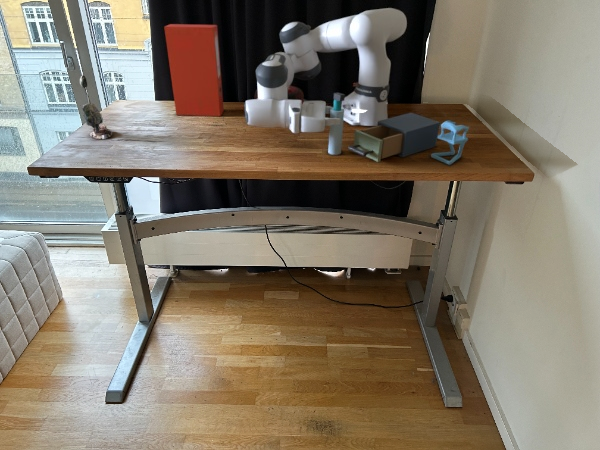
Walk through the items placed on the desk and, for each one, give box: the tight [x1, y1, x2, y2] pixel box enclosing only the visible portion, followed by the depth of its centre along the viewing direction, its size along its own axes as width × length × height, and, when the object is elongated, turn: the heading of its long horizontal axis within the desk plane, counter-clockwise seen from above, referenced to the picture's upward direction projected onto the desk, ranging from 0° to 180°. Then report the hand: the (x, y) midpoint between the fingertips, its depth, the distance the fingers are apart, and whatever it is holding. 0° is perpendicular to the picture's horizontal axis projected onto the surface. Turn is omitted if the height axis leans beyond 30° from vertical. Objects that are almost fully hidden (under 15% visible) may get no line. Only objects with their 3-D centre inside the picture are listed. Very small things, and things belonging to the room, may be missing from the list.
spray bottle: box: [327, 92, 346, 156], centre depth 136 cm, size 4×4×19 cm
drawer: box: [347, 125, 405, 163], centre depth 137 cm, size 20×11×7 cm, turn 126°
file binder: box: [164, 23, 225, 117], centre depth 165 cm, size 8×17×32 cm, turn 89°
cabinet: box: [377, 112, 441, 158], centre depth 144 cm, size 16×12×8 cm
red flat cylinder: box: [254, 85, 305, 104], centre depth 175 cm, size 20×8×20 cm
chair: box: [430, 120, 470, 166], centre depth 135 cm, size 8×8×12 cm
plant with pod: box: [79, 74, 113, 140], centre depth 144 cm, size 8×11×20 cm
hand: (340, 116), depth 134 cm, fingers open, 8 cm apart
